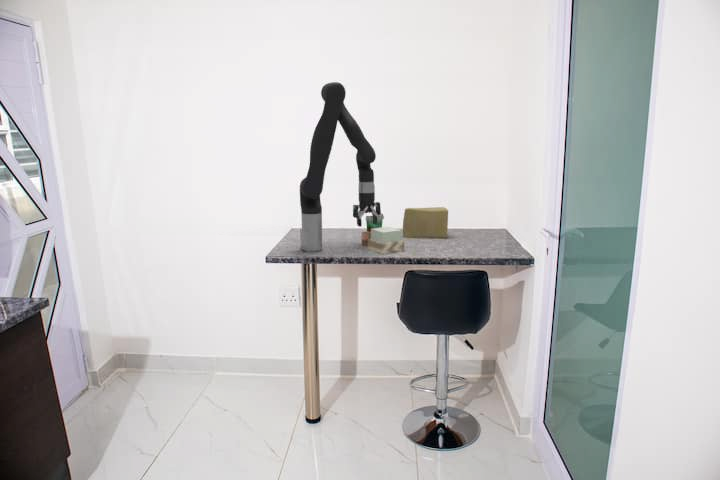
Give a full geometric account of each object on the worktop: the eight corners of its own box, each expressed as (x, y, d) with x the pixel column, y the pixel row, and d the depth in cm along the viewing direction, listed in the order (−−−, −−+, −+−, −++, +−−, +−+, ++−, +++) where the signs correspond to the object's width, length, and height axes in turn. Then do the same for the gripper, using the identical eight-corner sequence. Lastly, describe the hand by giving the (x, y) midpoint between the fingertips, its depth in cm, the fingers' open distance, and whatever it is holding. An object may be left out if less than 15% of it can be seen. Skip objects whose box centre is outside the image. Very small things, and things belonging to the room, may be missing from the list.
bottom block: (382, 255, 225) (382, 244, 224) (367, 250, 235) (367, 239, 234) (404, 251, 232) (404, 241, 231) (388, 246, 242) (388, 236, 240)
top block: (382, 243, 226) (382, 232, 225) (370, 239, 234) (370, 228, 233) (401, 240, 231) (401, 230, 230) (388, 236, 239) (388, 226, 238)
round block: (365, 246, 240) (365, 234, 238) (359, 244, 244) (359, 232, 242) (373, 245, 242) (373, 232, 241) (367, 243, 246) (367, 231, 245)
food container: (375, 236, 261) (375, 217, 259) (365, 234, 265) (365, 215, 263) (388, 232, 271) (388, 213, 268) (379, 230, 274) (379, 212, 272)
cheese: (404, 239, 254) (404, 209, 251) (401, 235, 264) (401, 206, 261) (447, 238, 256) (448, 209, 253) (443, 234, 266) (444, 206, 262)
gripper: (358, 193, 230) (359, 228, 234) (383, 190, 238) (384, 224, 241) (349, 191, 236) (350, 225, 240) (374, 189, 244) (375, 222, 248)
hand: (367, 225), depth 241 cm, fingers open, 8 cm apart
